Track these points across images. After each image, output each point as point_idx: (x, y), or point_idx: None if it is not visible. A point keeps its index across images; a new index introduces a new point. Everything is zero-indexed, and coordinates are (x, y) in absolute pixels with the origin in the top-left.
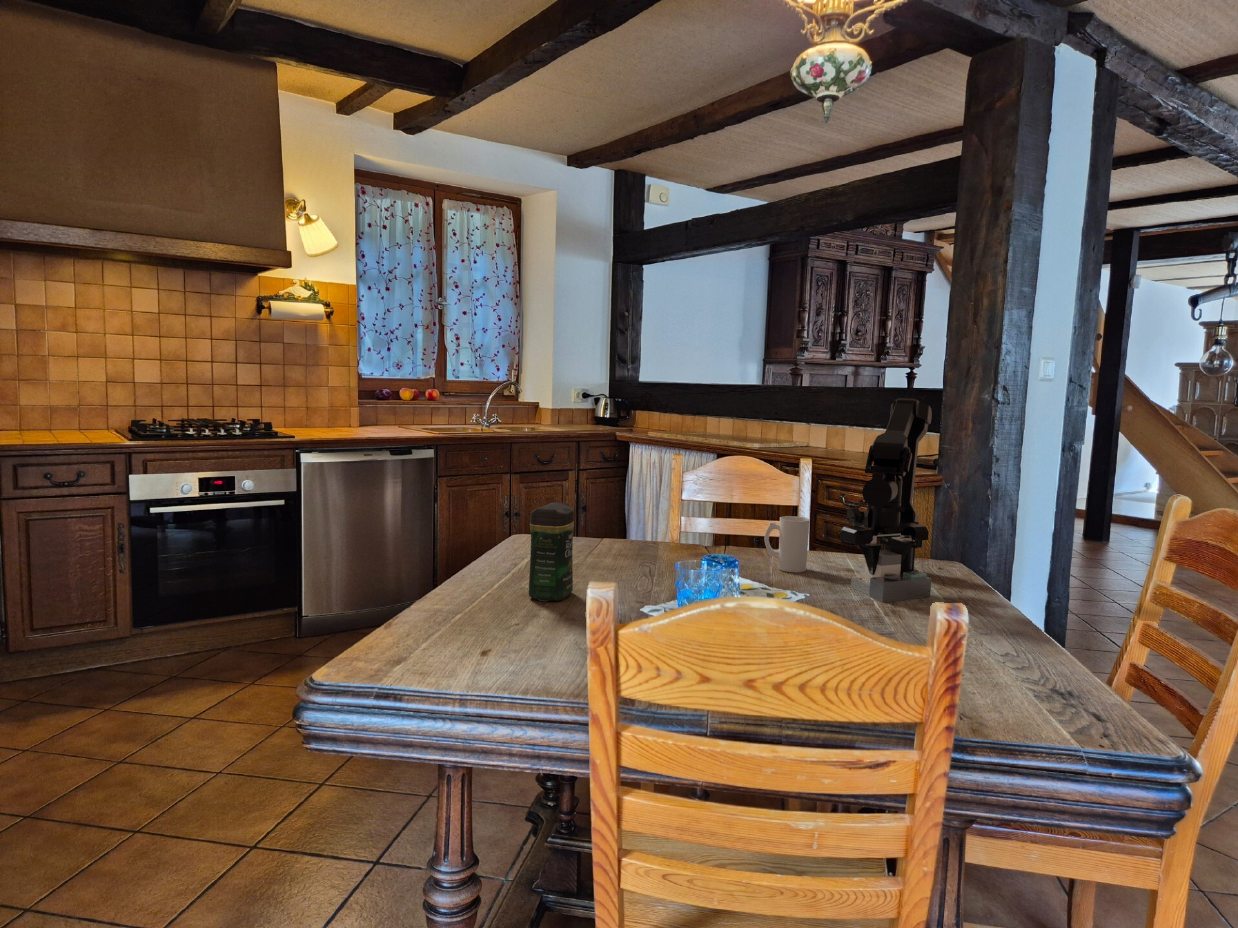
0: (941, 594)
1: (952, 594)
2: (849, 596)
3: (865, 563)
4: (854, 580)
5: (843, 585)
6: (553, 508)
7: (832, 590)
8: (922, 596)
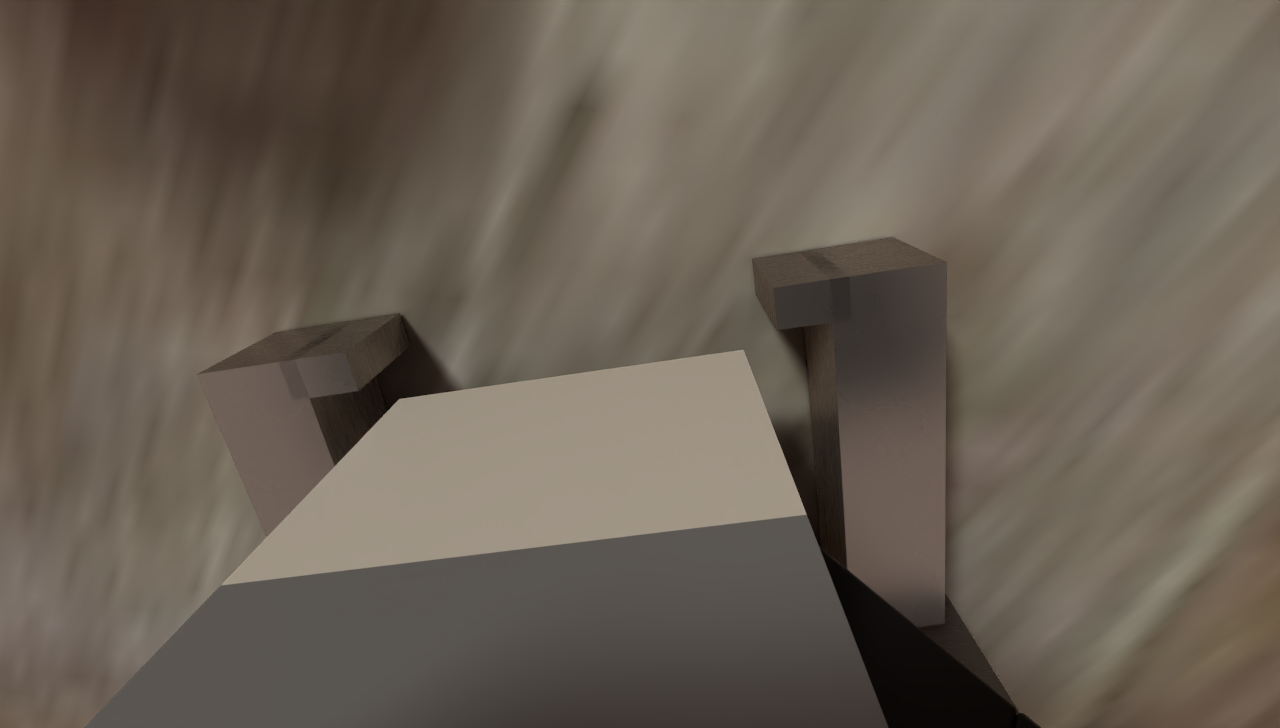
0: (1134, 675)
1: (1245, 688)
2: (166, 615)
3: (267, 543)
4: (235, 432)
5: (209, 227)
6: None
7: (26, 412)
8: None
